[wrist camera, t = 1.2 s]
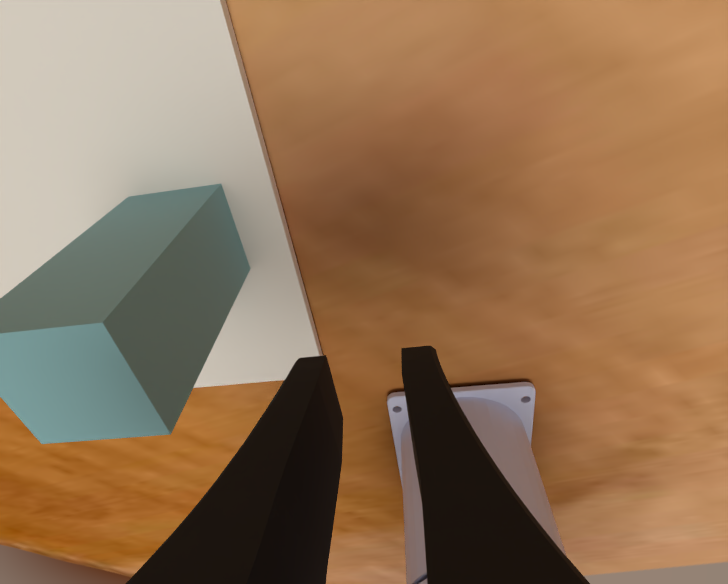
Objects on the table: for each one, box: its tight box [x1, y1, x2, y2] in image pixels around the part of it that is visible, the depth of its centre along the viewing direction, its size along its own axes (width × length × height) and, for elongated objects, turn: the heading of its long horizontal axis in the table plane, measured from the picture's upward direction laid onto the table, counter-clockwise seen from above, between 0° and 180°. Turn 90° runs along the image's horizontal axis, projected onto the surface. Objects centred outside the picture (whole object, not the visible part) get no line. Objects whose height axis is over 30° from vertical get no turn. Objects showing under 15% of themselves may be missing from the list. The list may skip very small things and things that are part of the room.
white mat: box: [0, 0, 323, 388], centre depth 20 cm, size 18×16×1 cm
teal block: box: [0, 184, 251, 444], centre depth 15 cm, size 4×4×9 cm
